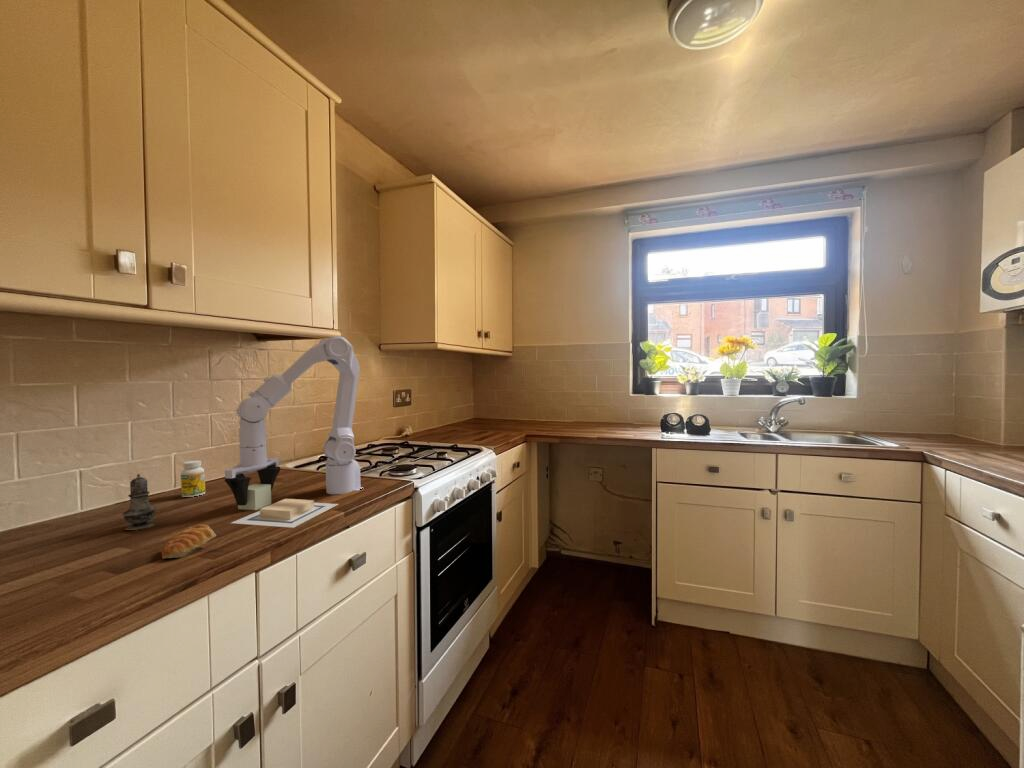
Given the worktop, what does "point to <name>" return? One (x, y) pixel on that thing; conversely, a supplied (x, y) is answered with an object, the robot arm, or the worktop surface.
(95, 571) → the worktop surface
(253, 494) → the sage block
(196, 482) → the supplement bottle
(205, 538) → the pastry
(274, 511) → the maple plinth
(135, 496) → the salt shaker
